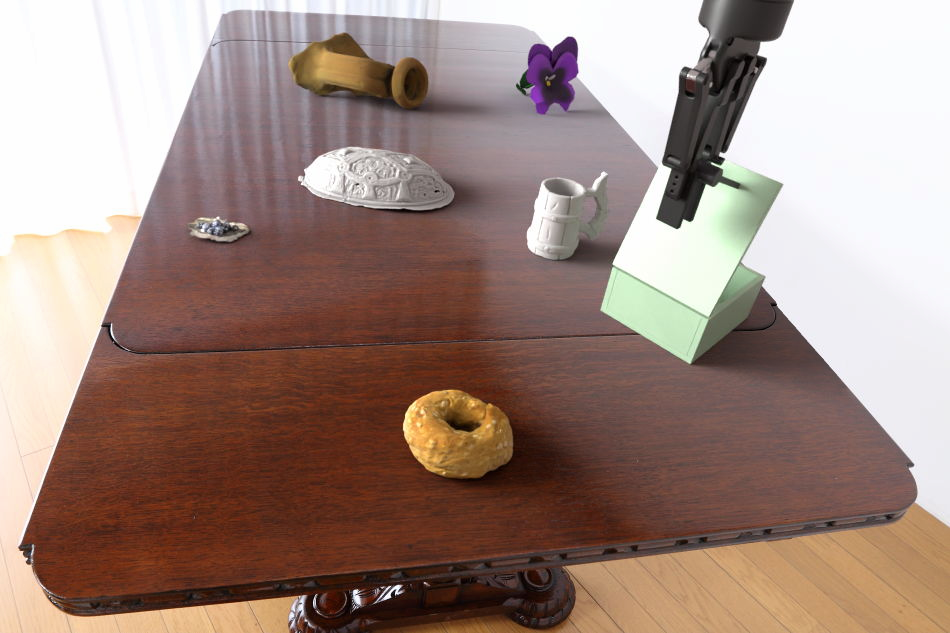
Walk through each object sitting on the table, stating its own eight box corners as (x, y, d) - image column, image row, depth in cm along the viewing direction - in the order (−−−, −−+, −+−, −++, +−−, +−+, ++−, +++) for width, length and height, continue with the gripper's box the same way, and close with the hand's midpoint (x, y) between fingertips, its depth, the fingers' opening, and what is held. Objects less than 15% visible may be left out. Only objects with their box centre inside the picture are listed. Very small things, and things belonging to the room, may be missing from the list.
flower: (498, 122, 153) (535, 114, 142) (489, 52, 149) (526, 38, 138) (549, 116, 160) (588, 107, 149) (540, 49, 157) (580, 35, 145)
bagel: (503, 497, 63) (510, 463, 60) (388, 470, 64) (391, 435, 61) (518, 423, 71) (526, 390, 68) (417, 400, 72) (420, 366, 69)
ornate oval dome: (447, 217, 103) (450, 174, 100) (285, 199, 104) (283, 156, 101) (459, 183, 116) (462, 144, 113) (316, 167, 117) (314, 129, 114)
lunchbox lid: (675, 139, 80) (641, 124, 72) (783, 184, 73) (759, 172, 65) (614, 264, 85) (577, 262, 77) (710, 317, 78) (680, 321, 71)
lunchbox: (662, 272, 99) (675, 231, 95) (747, 317, 92) (766, 276, 88) (600, 310, 89) (612, 267, 85) (690, 364, 82) (708, 320, 78)
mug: (517, 235, 103) (531, 161, 95) (588, 232, 106) (606, 160, 99) (535, 262, 97) (551, 186, 90) (609, 258, 100) (630, 184, 93)
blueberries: (187, 221, 95) (185, 209, 93) (247, 217, 97) (246, 205, 96) (189, 246, 90) (187, 234, 89) (252, 241, 93) (251, 229, 91)
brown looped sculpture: (354, 38, 148) (436, 46, 138) (348, 99, 152) (427, 112, 142) (291, 20, 133) (376, 29, 123) (286, 89, 137) (369, 103, 126)
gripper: (752, -29, 66) (680, 189, 80) (672, -21, 57) (606, 224, 71) (826, -11, 63) (737, 215, 77) (754, 2, 53) (667, 256, 67)
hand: (674, 219), depth 74 cm, fingers closed on lunchbox lid, 2 cm apart
